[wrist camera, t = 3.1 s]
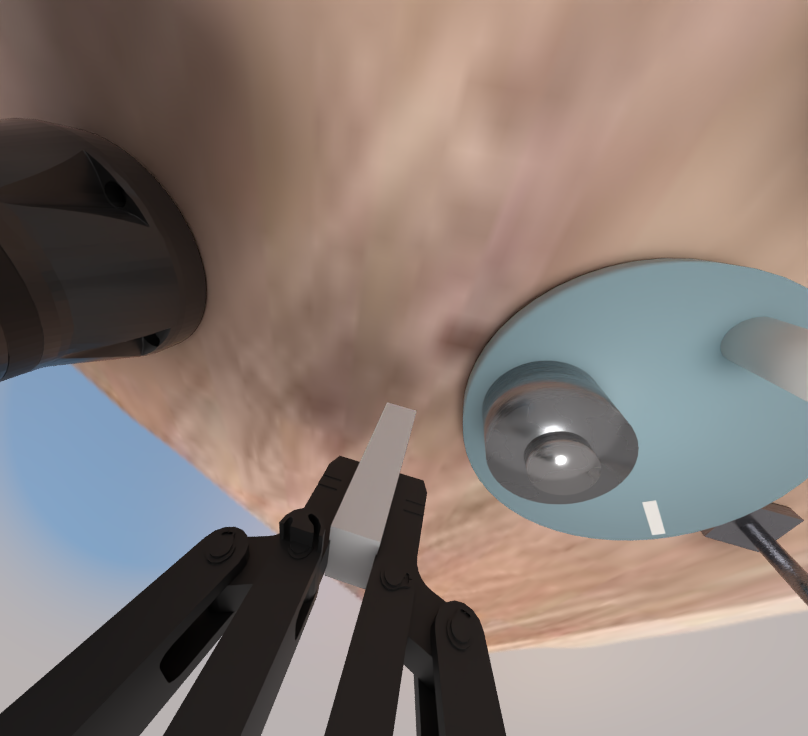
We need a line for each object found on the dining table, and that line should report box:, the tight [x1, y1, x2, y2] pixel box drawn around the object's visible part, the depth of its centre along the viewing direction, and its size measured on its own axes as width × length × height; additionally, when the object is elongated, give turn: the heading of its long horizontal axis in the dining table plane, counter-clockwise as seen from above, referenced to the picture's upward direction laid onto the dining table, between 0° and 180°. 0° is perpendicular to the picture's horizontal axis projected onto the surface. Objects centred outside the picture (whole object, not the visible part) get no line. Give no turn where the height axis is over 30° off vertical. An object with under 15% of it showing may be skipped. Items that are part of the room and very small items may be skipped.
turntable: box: [463, 258, 808, 540], centre depth 16 cm, size 20×20×7 cm
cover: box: [482, 360, 639, 504], centre depth 16 cm, size 7×7×5 cm
